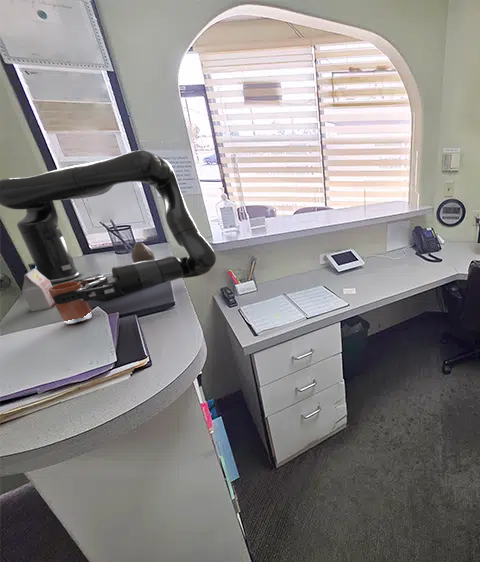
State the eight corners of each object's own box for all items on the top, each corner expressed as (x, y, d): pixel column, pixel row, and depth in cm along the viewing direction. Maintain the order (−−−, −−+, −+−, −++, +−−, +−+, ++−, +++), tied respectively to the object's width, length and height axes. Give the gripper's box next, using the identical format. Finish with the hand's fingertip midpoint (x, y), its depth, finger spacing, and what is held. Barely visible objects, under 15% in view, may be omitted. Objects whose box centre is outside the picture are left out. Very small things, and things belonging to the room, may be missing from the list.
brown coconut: (145, 269, 114) (138, 246, 111) (130, 268, 116) (122, 245, 112) (161, 263, 121) (154, 241, 117) (146, 262, 122) (139, 241, 119)
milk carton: (31, 311, 83) (14, 276, 79) (40, 302, 88) (25, 269, 85) (50, 307, 85) (34, 273, 81) (58, 299, 90) (43, 267, 86)
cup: (59, 322, 75) (44, 288, 72) (86, 312, 80) (72, 280, 77) (70, 326, 73) (55, 291, 70) (97, 316, 78) (84, 283, 74)
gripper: (126, 258, 87) (42, 275, 75) (142, 268, 78) (49, 289, 66) (135, 283, 90) (55, 303, 78) (151, 295, 81) (63, 320, 69)
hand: (53, 296), depth 72 cm, fingers closed on cup, 5 cm apart
